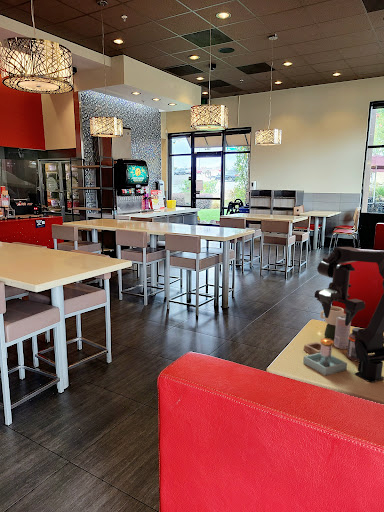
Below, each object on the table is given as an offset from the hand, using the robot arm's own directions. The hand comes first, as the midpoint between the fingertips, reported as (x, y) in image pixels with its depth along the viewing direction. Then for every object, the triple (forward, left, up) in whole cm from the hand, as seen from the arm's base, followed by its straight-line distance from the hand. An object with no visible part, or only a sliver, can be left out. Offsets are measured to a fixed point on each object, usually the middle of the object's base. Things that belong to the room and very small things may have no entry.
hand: (336, 321), depth 142 cm
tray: (-6, +11, -13) cm, 18 cm away
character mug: (+12, -13, -13) cm, 22 cm away
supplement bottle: (-6, -5, -13) cm, 15 cm away
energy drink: (+4, -9, -13) cm, 16 cm away
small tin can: (-6, +11, -12) cm, 18 cm away
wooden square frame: (+4, +4, -13) cm, 14 cm away
